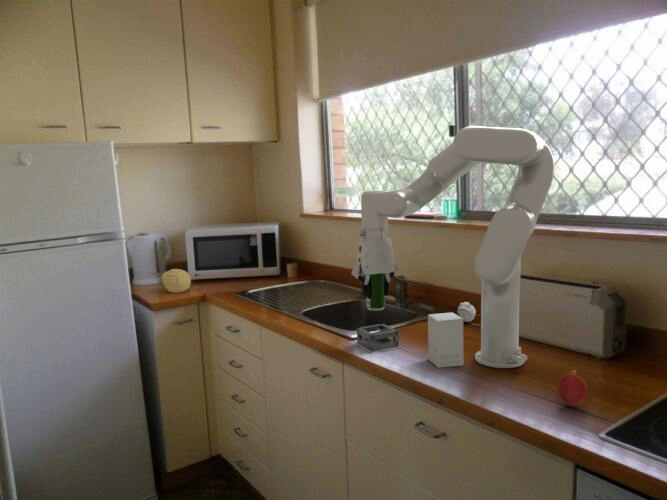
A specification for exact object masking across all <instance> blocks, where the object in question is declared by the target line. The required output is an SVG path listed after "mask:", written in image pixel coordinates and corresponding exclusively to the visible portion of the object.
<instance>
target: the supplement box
mask: <svg viewBox="0 0 667 500" xmlns="http://www.w3.org/2000/svg"><path fill="white" fill-rule="evenodd" d="M427 338H428V339H427V340H428V341H427V342H428V344H427V345H428V346H427V347H428V348H427V349H428V352H427V353H428V361H430V362H431V363H432V364H434V366H436V367H437V369H438V368H449V367H461V366H464V356H465V355H464V321H463V318H461V317H459V314H456V313H455V312H453V311H452V312H444V313H443V312H442V313H430V314H427Z"/></svg>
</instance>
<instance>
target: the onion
mask: <svg viewBox="0 0 667 500" xmlns="http://www.w3.org/2000/svg"><path fill="white" fill-rule="evenodd" d="M577 373H578V372H577V370H572V371H570V372H569V373H567V374H565V375H564V376H563V377H561V379H559V382H558V384H557V393H558V396H559V398H560V399H561V400H562V401H563V402H564V403H566V404H567V405H568V406H569V407H572V408H574V407H577V406H578V405H580V404H582V403H583V402H584V401H586V399H587V397H588V396H589V395H588V394H589V390H588V386H587V385H588V384H587V383H586V382H585V381H584V379H583V378H582V377H580V376H579V375H577Z"/></svg>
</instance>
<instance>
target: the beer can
mask: <svg viewBox="0 0 667 500" xmlns="http://www.w3.org/2000/svg"><path fill="white" fill-rule="evenodd" d="M368 284H369V285H370V298H366V297H365V298H366V308H367V310H368V311H375V312H378V311H379V312H380V311H383V310H384V309H385V307H386V296H385V274H376V275H370V278H369V282H368Z"/></svg>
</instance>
